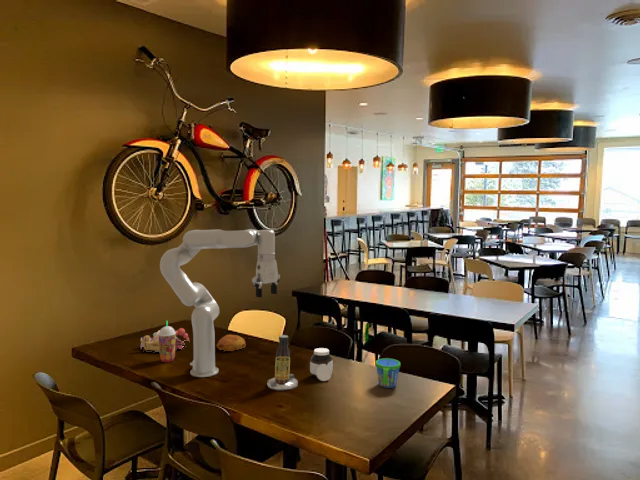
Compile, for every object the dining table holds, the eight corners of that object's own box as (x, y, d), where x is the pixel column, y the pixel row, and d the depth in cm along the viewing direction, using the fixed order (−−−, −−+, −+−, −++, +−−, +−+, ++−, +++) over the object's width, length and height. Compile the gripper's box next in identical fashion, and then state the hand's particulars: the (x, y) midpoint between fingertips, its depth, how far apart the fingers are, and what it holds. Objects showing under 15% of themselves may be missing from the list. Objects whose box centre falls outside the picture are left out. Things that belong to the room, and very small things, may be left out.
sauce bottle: (274, 384, 200) (274, 338, 199) (275, 379, 207) (274, 334, 205) (290, 384, 201) (290, 338, 199) (290, 378, 207) (290, 334, 206)
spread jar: (323, 370, 221) (323, 346, 221) (341, 377, 213) (341, 351, 212) (304, 377, 213) (304, 351, 212) (322, 383, 205) (322, 357, 204)
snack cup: (395, 393, 194) (396, 369, 193) (370, 390, 198) (371, 366, 197) (403, 380, 209) (404, 358, 208) (380, 377, 213) (380, 355, 212)
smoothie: (155, 362, 232) (154, 321, 231) (166, 357, 240) (165, 318, 239) (168, 364, 229) (168, 323, 228) (180, 359, 237) (179, 319, 236)
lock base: (260, 385, 202) (260, 379, 202) (281, 376, 213) (281, 371, 213) (283, 393, 194) (283, 386, 194) (304, 383, 205) (304, 377, 205)
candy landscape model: (179, 354, 246) (179, 337, 245) (133, 354, 246) (133, 336, 245) (192, 341, 270) (192, 325, 270) (151, 340, 270) (150, 324, 270)
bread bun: (231, 346, 266) (229, 332, 266) (250, 348, 257) (249, 333, 257) (210, 352, 254) (209, 337, 255) (230, 353, 245) (229, 338, 245)
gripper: (258, 259, 203) (258, 299, 204) (285, 256, 217) (285, 293, 218) (246, 258, 208) (246, 297, 209) (273, 255, 221) (273, 291, 223)
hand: (266, 295), depth 213 cm, fingers open, 9 cm apart
